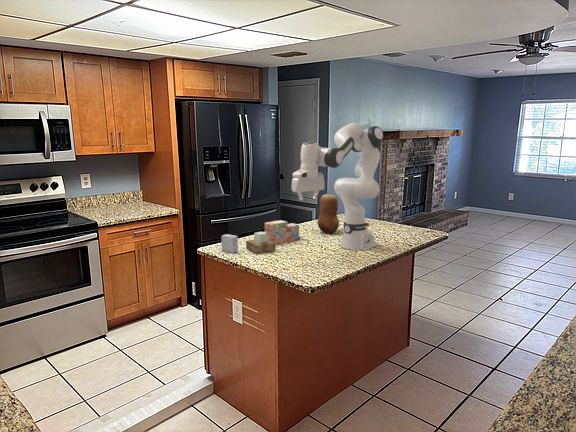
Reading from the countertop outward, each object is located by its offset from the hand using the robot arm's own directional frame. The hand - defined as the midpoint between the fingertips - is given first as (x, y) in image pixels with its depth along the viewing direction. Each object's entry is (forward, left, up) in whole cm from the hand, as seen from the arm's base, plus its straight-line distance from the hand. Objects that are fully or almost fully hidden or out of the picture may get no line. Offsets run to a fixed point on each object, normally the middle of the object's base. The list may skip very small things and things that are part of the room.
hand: (308, 199), depth 220 cm
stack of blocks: (-5, -28, -30) cm, 41 cm away
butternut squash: (-42, -27, -29) cm, 58 cm away
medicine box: (+31, -28, -29) cm, 51 cm away
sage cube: (+16, -20, -25) cm, 36 cm away
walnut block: (+16, -20, -30) cm, 39 cm away
